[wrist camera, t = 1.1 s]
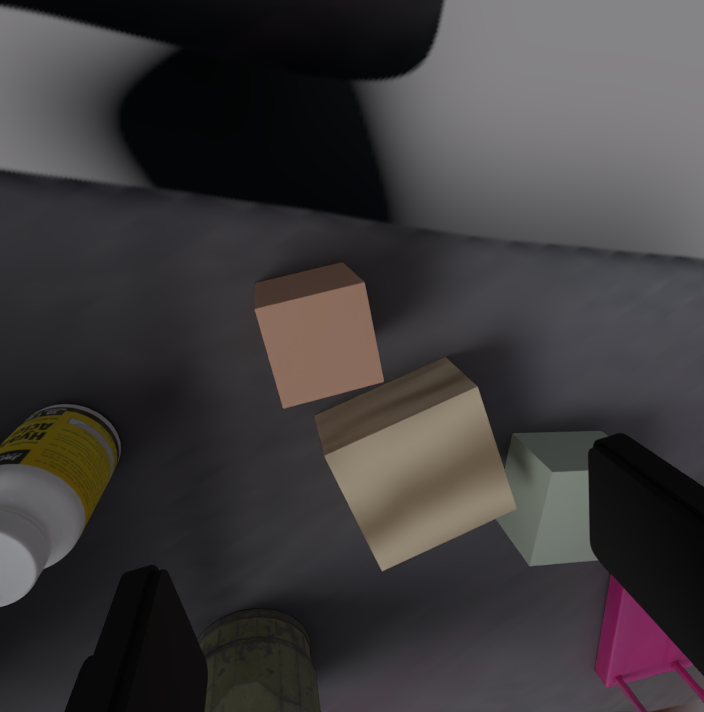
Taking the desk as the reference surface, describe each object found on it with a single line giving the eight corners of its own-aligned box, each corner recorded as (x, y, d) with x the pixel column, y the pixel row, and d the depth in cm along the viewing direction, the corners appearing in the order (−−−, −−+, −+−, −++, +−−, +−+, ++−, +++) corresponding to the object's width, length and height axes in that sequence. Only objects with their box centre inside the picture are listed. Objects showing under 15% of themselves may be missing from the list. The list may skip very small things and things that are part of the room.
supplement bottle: (70, 382, 26) (-28, 486, 17) (143, 446, 28) (90, 570, 19) (-5, 440, 27) (-139, 572, 18) (73, 500, 29) (-11, 646, 20)
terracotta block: (255, 282, 27) (254, 309, 21) (342, 261, 27) (364, 282, 21) (278, 364, 28) (283, 408, 23) (359, 343, 29) (383, 381, 23)
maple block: (313, 413, 30) (324, 455, 25) (443, 355, 30) (477, 386, 26) (364, 517, 34) (381, 571, 29) (481, 464, 34) (516, 509, 29)
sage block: (511, 432, 33) (552, 472, 29) (599, 429, 35) (652, 467, 30) (493, 516, 36) (529, 566, 31) (577, 511, 37) (623, 558, 32)
